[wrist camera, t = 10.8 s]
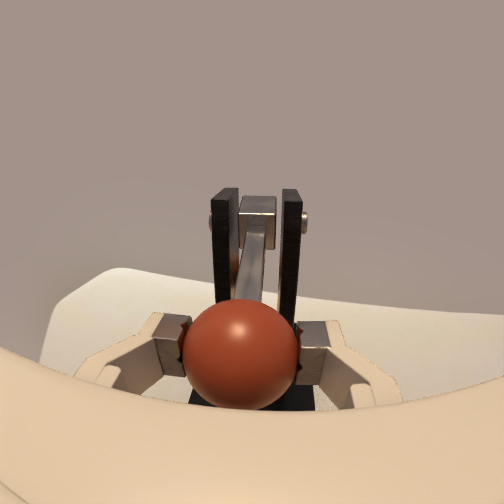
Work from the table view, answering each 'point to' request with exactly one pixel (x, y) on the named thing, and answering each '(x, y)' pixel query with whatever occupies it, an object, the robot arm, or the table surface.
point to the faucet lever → (243, 328)
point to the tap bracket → (292, 227)
